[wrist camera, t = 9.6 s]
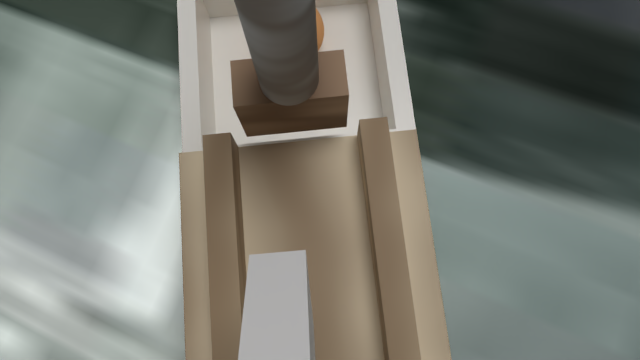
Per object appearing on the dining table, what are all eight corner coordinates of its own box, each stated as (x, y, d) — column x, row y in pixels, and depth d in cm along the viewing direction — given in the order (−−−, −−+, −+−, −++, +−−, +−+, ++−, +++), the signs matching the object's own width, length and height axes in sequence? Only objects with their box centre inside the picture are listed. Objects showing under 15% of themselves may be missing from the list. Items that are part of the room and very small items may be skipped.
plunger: (340, 71, 25) (359, -449, 8) (348, 143, 24) (390, -273, 7) (243, 80, 25) (57, -421, 8) (248, 153, 24) (50, -240, 7)
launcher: (397, 170, 31) (423, 113, 23) (428, 386, 28) (471, 416, 20) (211, 188, 31) (166, 138, 23) (222, 407, 28) (174, 446, 19)
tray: (380, -9, 34) (387, -56, 30) (406, 169, 31) (418, 145, 27) (195, 9, 34) (175, -36, 30) (203, 189, 31) (182, 168, 27)
